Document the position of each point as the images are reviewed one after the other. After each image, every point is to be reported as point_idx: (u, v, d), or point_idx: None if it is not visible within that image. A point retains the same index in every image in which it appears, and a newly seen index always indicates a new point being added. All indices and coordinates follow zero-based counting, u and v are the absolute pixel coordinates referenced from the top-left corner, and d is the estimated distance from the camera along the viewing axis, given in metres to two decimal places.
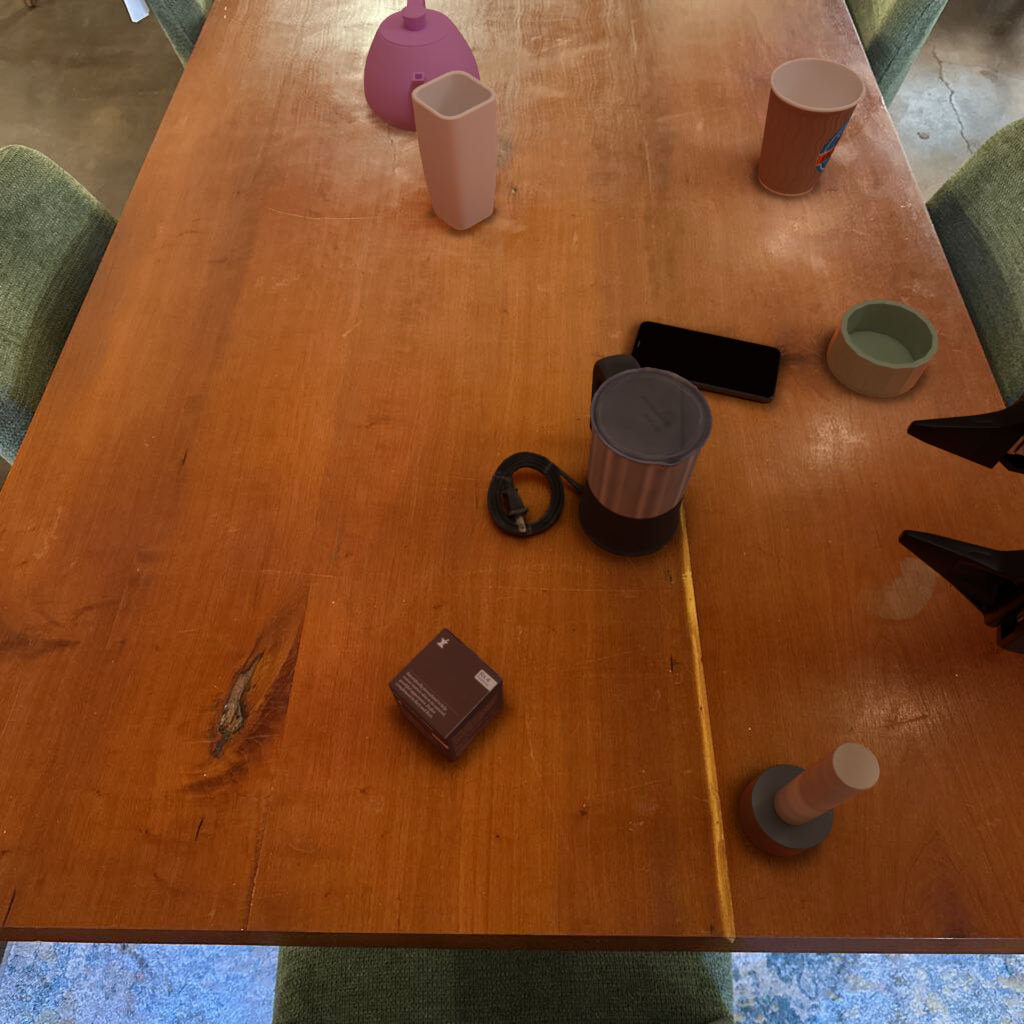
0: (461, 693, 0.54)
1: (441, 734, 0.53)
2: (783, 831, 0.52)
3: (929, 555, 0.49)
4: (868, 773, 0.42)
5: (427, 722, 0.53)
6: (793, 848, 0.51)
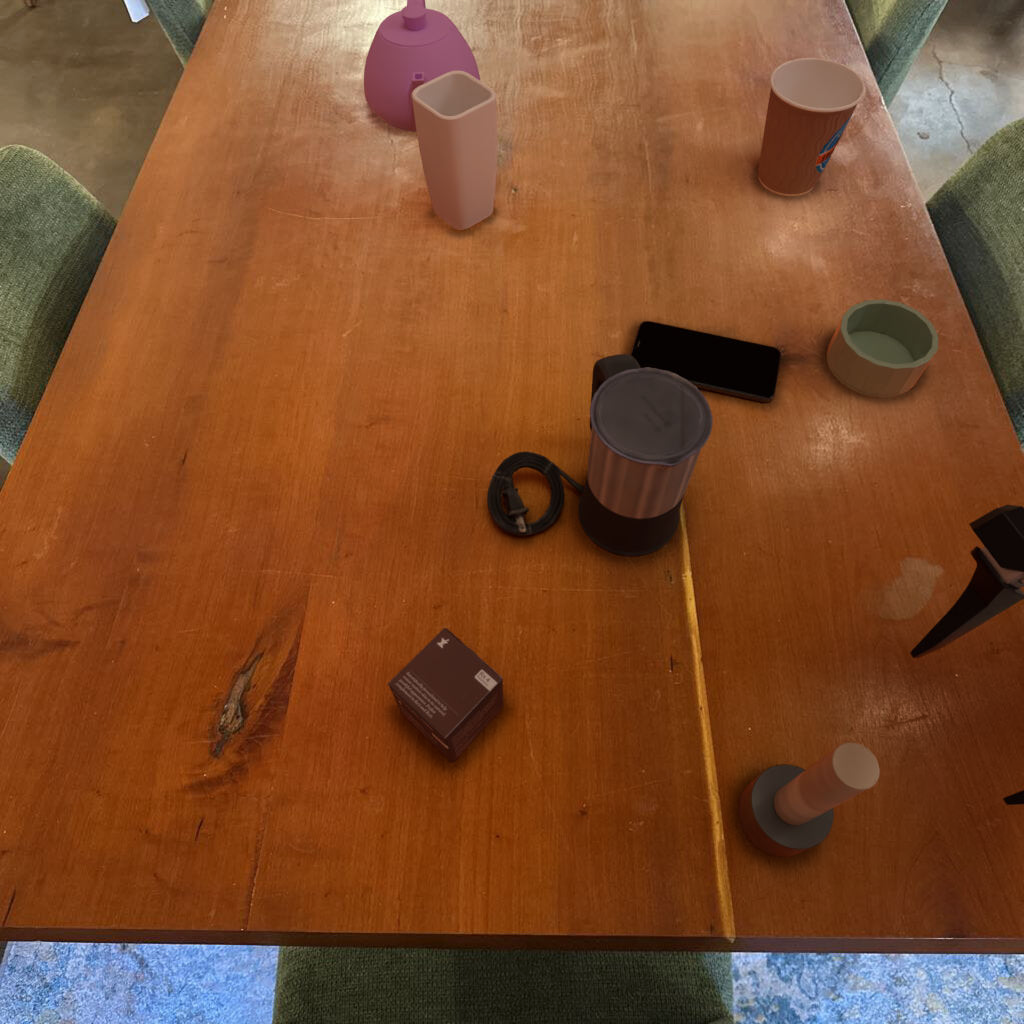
0: (461, 693, 0.54)
1: (441, 734, 0.53)
2: (783, 831, 0.52)
3: None
4: (868, 773, 0.42)
5: (427, 722, 0.53)
6: (793, 848, 0.51)
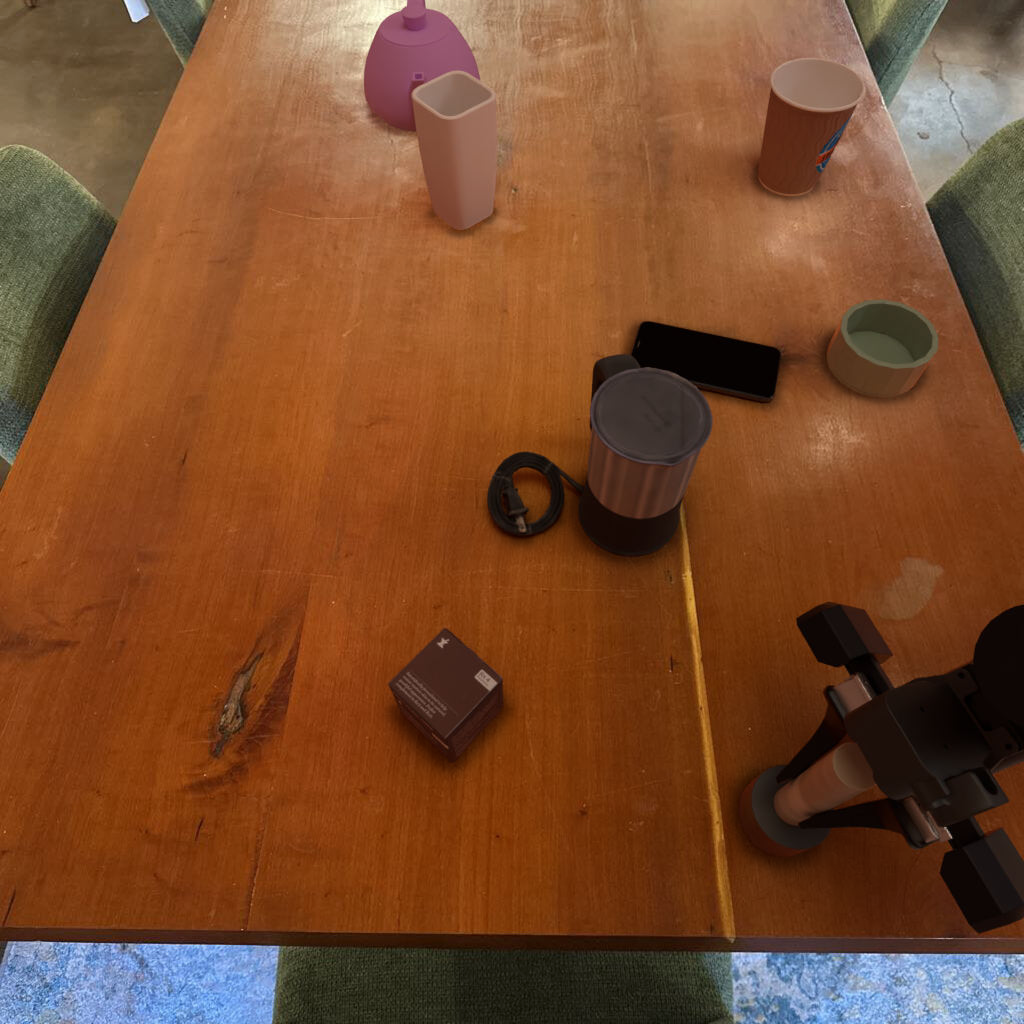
0: (461, 693, 0.54)
1: (441, 734, 0.53)
2: (783, 831, 0.52)
3: None
4: (868, 774, 0.42)
5: (427, 722, 0.53)
6: (793, 848, 0.51)
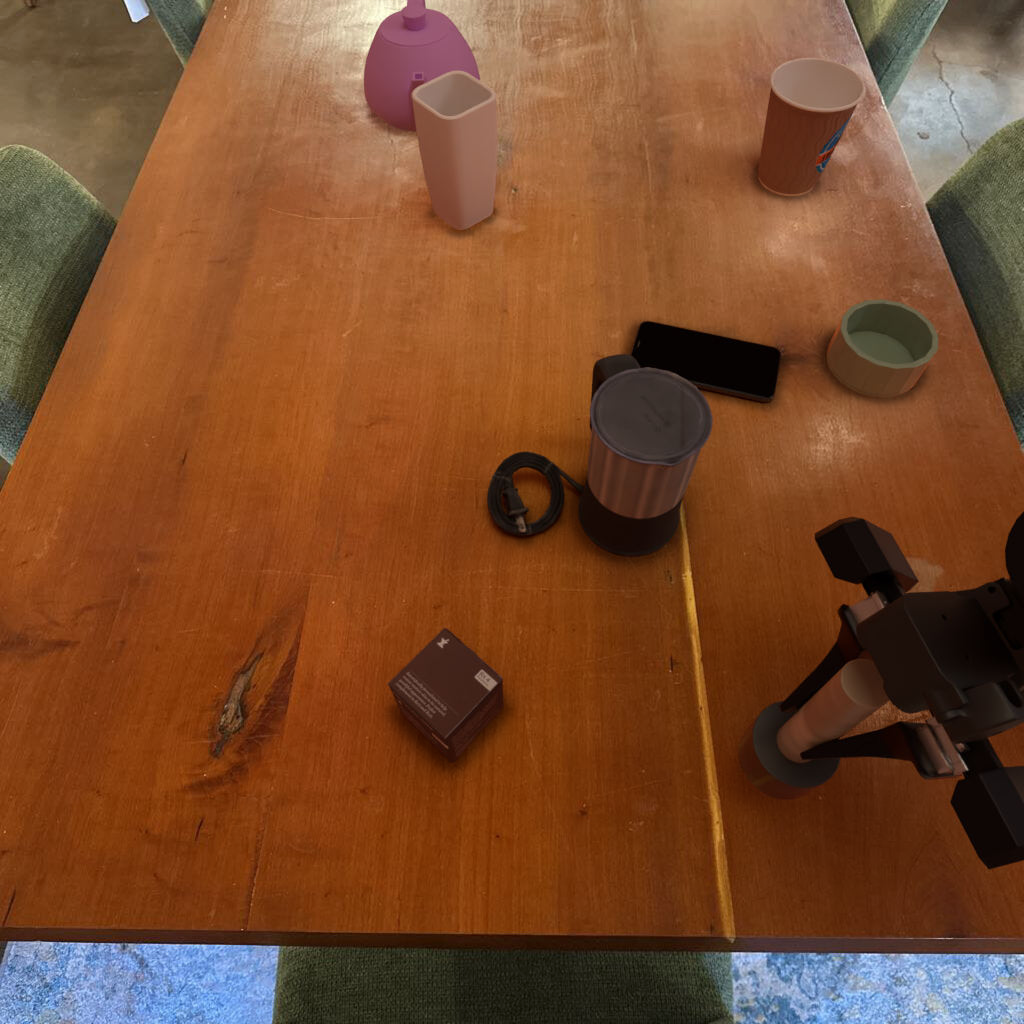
0: (461, 693, 0.54)
1: (441, 734, 0.53)
2: (784, 767, 0.48)
3: None
4: (879, 692, 0.39)
5: (427, 722, 0.53)
6: (793, 786, 0.48)
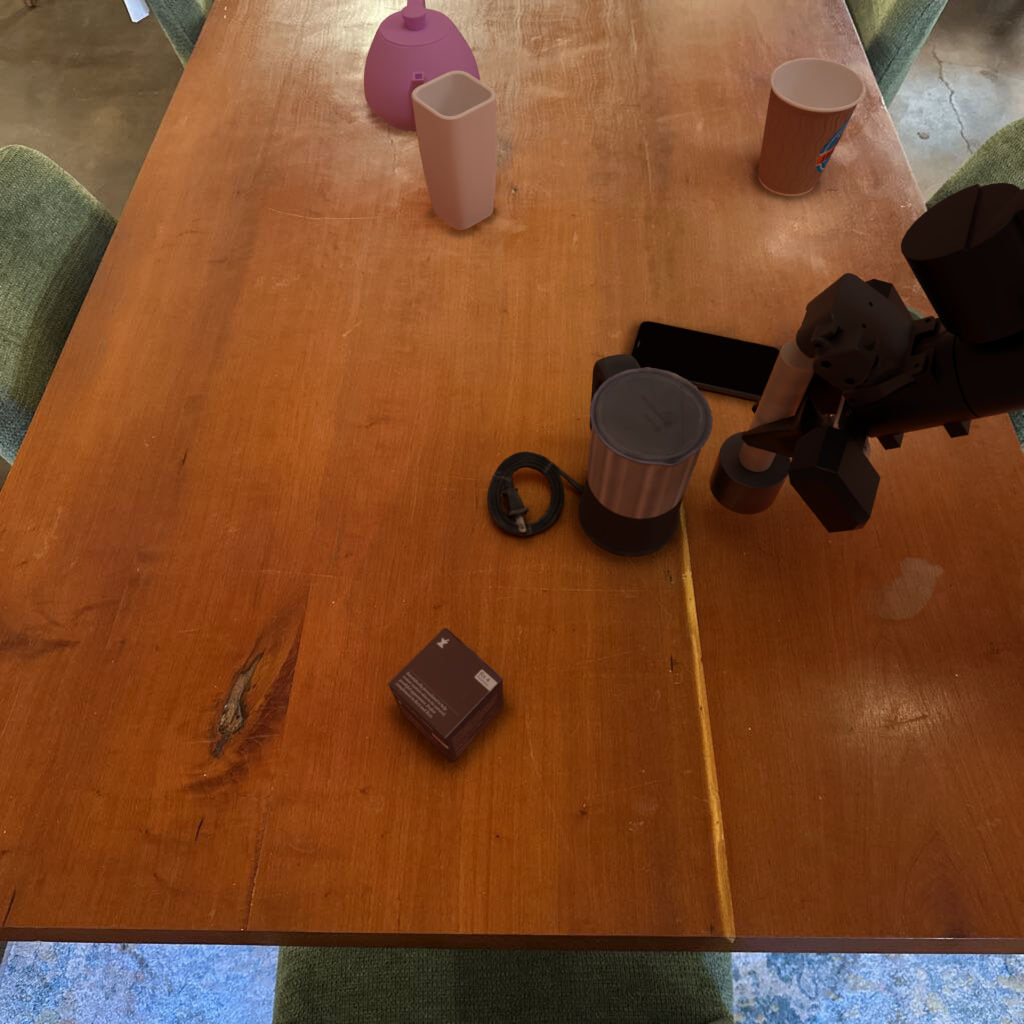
0: (461, 693, 0.54)
1: (441, 734, 0.53)
2: (733, 464, 0.60)
3: (766, 444, 0.56)
4: (804, 362, 0.50)
5: (427, 722, 0.53)
6: (730, 477, 0.60)
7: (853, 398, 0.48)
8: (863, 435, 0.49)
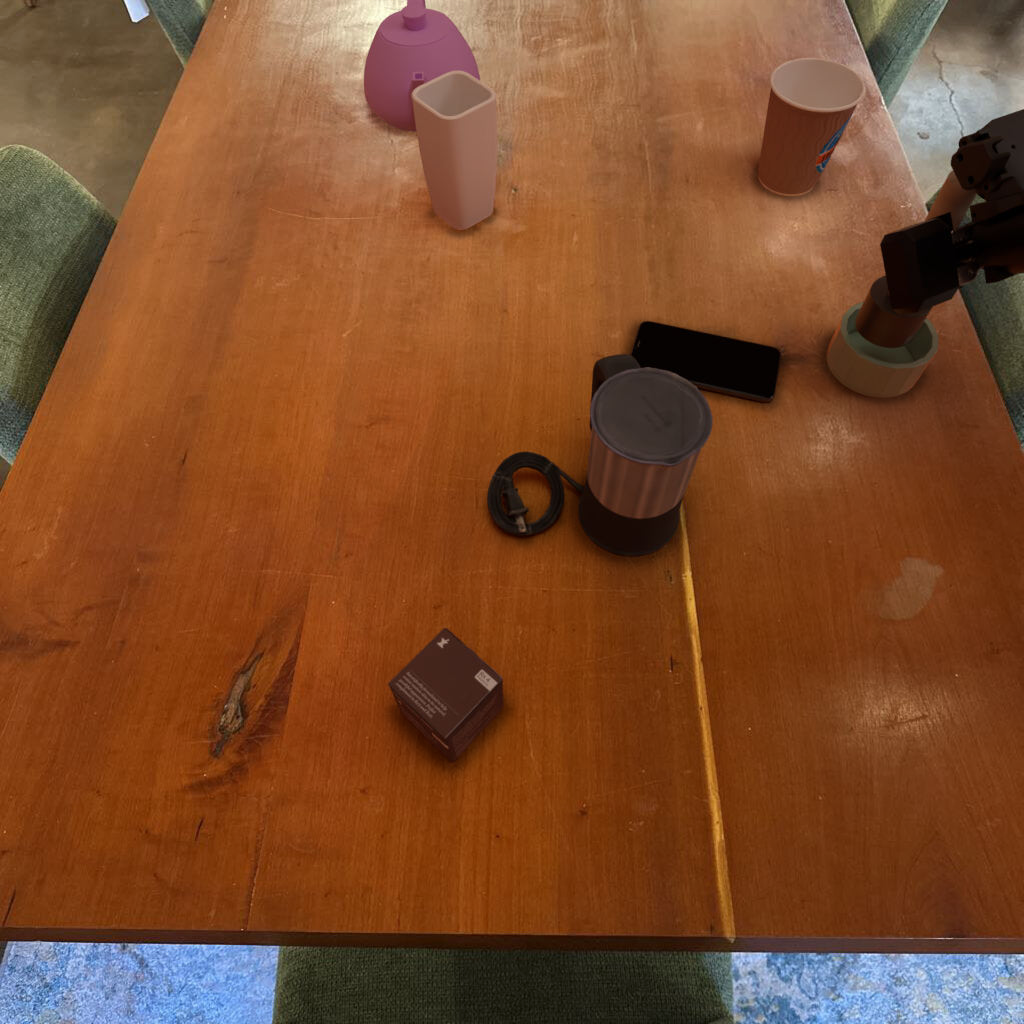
0: (461, 693, 0.54)
1: (441, 734, 0.53)
2: (881, 289, 0.70)
3: None
4: None
5: (427, 722, 0.53)
6: (871, 295, 0.70)
7: (976, 212, 0.57)
8: (969, 252, 0.58)
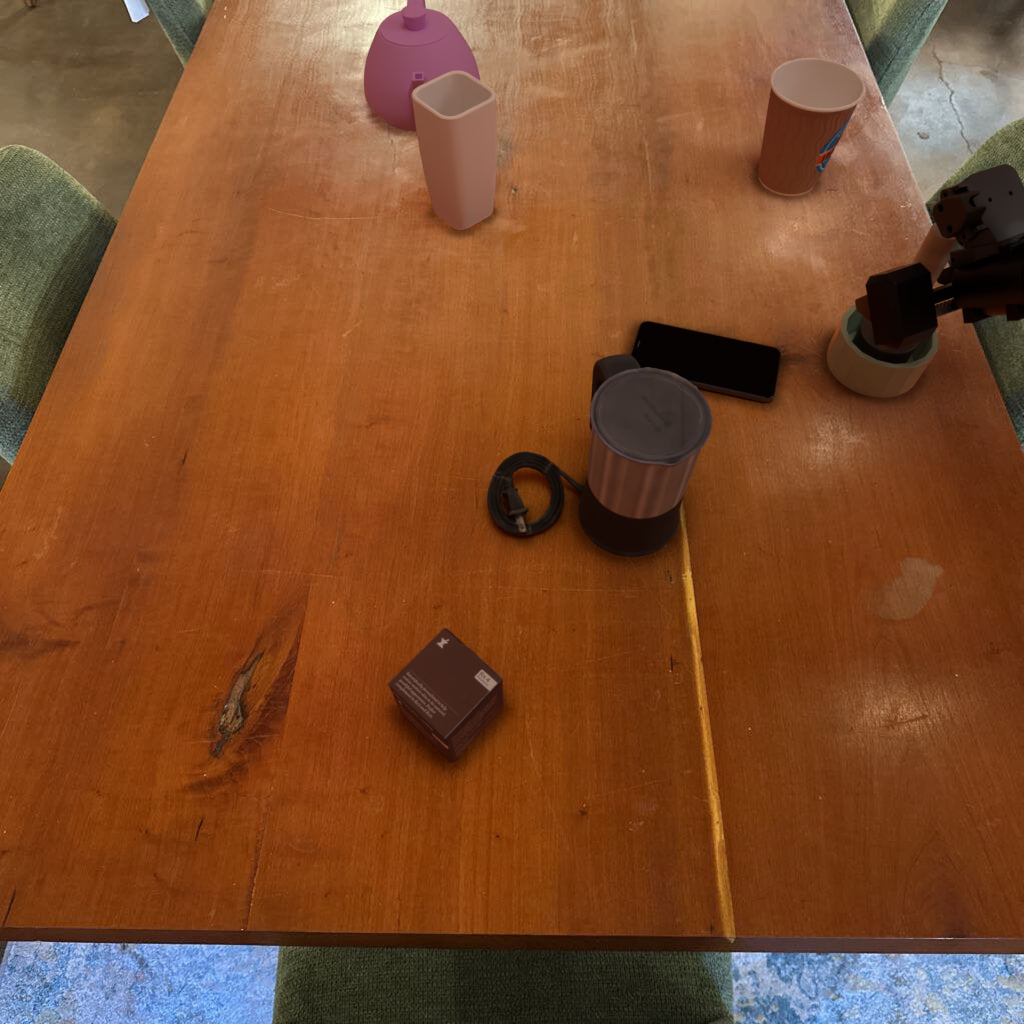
0: (461, 693, 0.54)
1: (441, 734, 0.53)
2: (870, 326, 0.75)
3: (865, 309, 0.69)
4: None
5: (427, 722, 0.53)
6: (860, 331, 0.75)
7: (955, 258, 0.61)
8: (948, 294, 0.62)
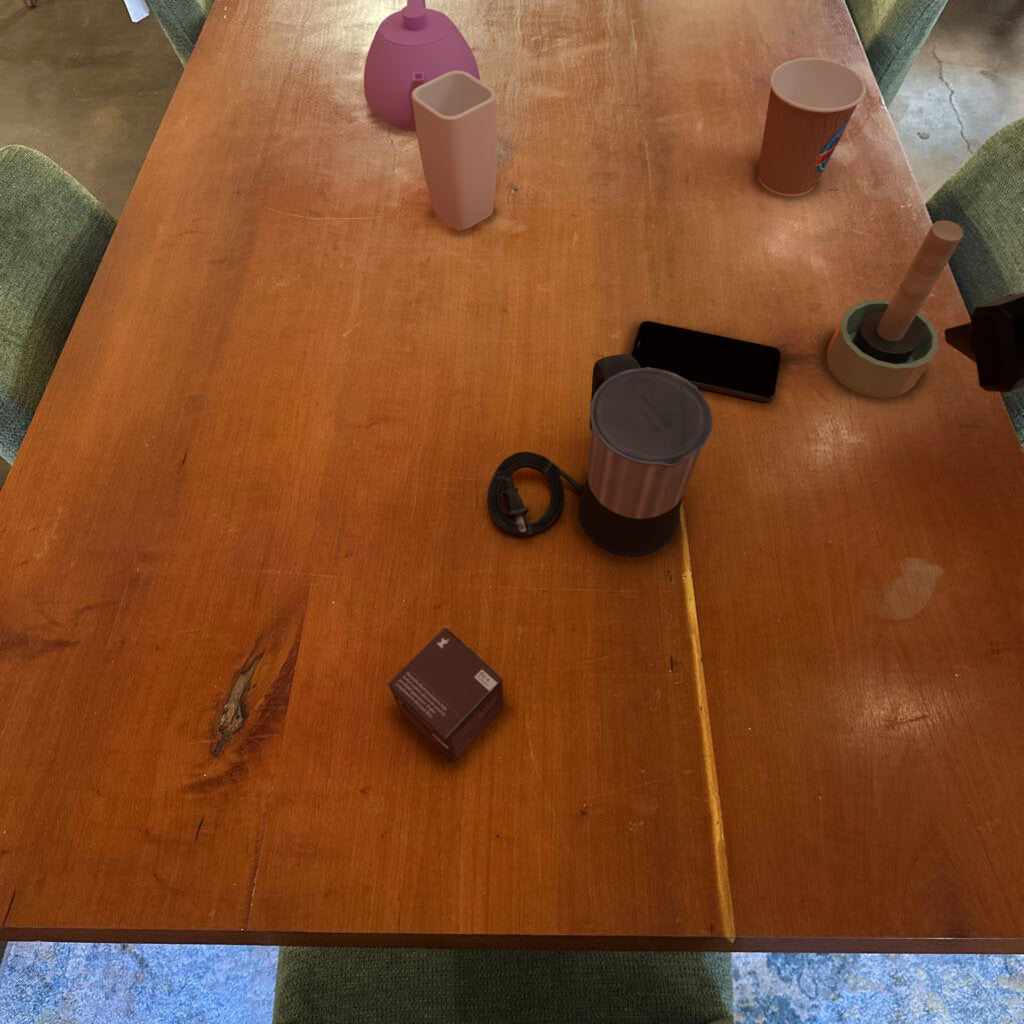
0: (461, 693, 0.54)
1: (441, 734, 0.53)
2: (870, 326, 0.75)
3: (958, 341, 0.60)
4: (944, 234, 0.64)
5: (427, 722, 0.53)
6: (860, 331, 0.75)
7: None
8: None
